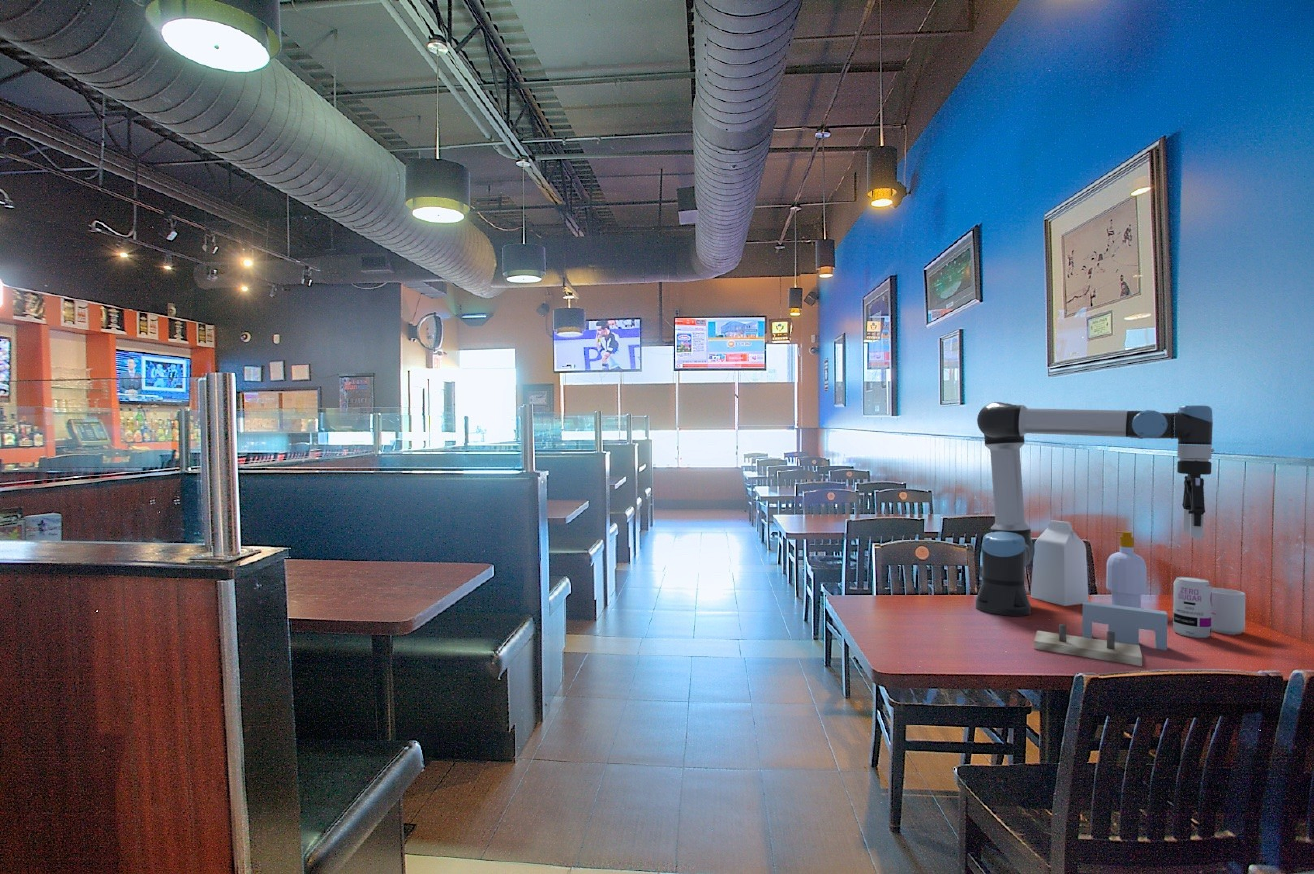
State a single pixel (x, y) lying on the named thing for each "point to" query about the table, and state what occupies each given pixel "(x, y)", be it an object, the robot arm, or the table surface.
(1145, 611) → the notched panel
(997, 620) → the table surface
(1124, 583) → the soap bottle
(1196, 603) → the supplement can
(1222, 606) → the mug
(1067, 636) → the pegged base plate
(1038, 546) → the milk
